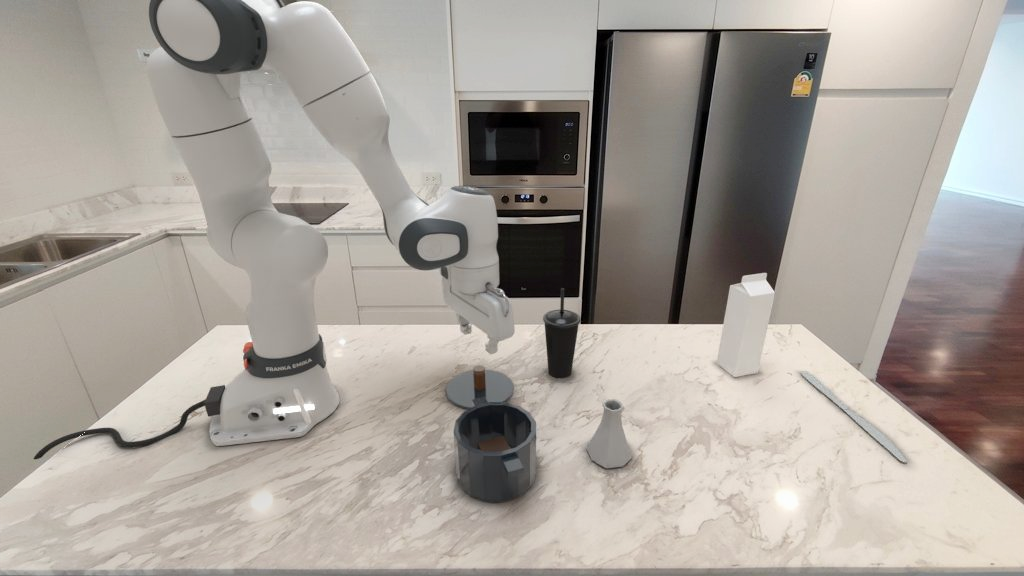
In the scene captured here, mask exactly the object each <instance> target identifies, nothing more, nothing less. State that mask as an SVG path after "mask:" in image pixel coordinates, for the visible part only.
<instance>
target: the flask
mask: <svg viewBox="0 0 1024 576" xmlns="http://www.w3.org/2000/svg"><path fill="white" fill-rule="evenodd" d="M601 406H602V407H603V414H602V417H601V421H600V423H599V425H598V426H597V428H596V431H595V432H594V434H593V435H592V437H591V438H590V440H589V442H588V444H587V446H586V451H587V453H588V455H589V457H590V460H591V461H593V462H595V463H596V464H598V465H599V466H601V467H603V468H604V469H613V468H622V467H624V466H625V465H626V464H627V463H628V462H629V461H631V460H632V458H633V454H632V451H631V449H630V445H629V443H628V441H627V440H628V439H627V437H626V434H625V431H624V427H623V422H622V411H623V410H624V408H625V406H624V404H623V403H622V401H620V400H618V399H615V398H610V399H609V398H607V399H605V400H604V401H603V402H602V403H601Z"/></svg>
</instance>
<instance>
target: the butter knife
mask: <svg viewBox="0 0 1024 576" xmlns="http://www.w3.org/2000/svg"><path fill="white" fill-rule="evenodd" d="M800 373H801V375H802V376H803V377H804V379H806V380H807V381H808V382H809V383H810V384H811V385H812V386H814V387H815V388H816V389H817V390H819V392H821V393H822V394H824V395H825V396H826V397H827V398H828V399H830V400H831V401H832V402H833V403H834V404H835V405H837V406H838V407H839V408H840V409H841V410H842V411H844V412H845V414H847V415H848V416H849V417H851V418H852V419H853V420H854V421H855V422H856V423H857V424H858V425H859V427H861V428H863V429H864V431H866V432H867V433H868V434H869V435H870V436H871V437H872V438H873V439H875V440H876V441H877V442H878V443H880V444H881V445H882V446H883V447H884V448H885V449H887V450H888V451H889V453H891V454H892V455H893V456H894V457H895V458H896V459H898V460H899V461H901V463H905V464H906V463H907V462H908V460H907V459H906V458H905V456H904V455H903V454H902V453H901V451H900V450H899V449H898V448H897V447H896V446H895V444H894V443H893V442H892V441H891V440H890V439H889V438H888V437H887V436H885V434H883V433H882V432H880V431H879V430H878V429H877V428H875V427H874V426H873V425H872V424H871V423H869V422H867V421H866V420H865V419H863V418H862V417H861V416H859V415H858V414H856V413H855V412H854V411H852V410H851V409H850V408H849V407H847V406H846V405H845V404H844V403H843V402H842V401H840V400H839V399H838V398H837V397H836V396H834V394H833V393H832V392H831V391H830V390H829V389H828V388H827V387H826V386H825V385H824V384H823V383H821V382H820V381H819V380H818V379H817V377H815V376H814V375H812V373H810V372H808V371H805V370H801V371H800Z"/></svg>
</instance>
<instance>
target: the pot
mask: <svg viewBox="0 0 1024 576" xmlns="http://www.w3.org/2000/svg"><path fill="white" fill-rule="evenodd" d="M472 405H473V407H472V408H470V409H468V410H467V409H465V410H464V411H463V412H462V413H461V414H460V415H459V416H458V417H457V419H456V420H455V423H454V427H453V431H452V432H453V443H454V444H453V446H454V458H455V472H456V473H455V474H456V477H457V482H458V484H459V486H460V488H461V489H462V491H464V493H465V494H466V495H468V496H470V497H471V498H473V499H475V500H477V501H480V502H485V503H488V504H489V503H492V504H498V503H499V504H500V503H507V502H511V501H514V500H516V499H518V498H519V497H522V496H523V495H524V494H526V493H527V492H528V490H530V488H531V487H532V485H533V484H534V482H535V479H536V475H537V422H536V420H535V418H534V417H533V416H532V414H531V412H530V411H528V410H526V409H525V408H523V407H522V406H520V405H518V404H515V403H510V402H508V401H507V402H488V401H487V399H486V398H485V397H481V398H477V399H473V400H472ZM502 436H504V438H505V440H506V442H507V444H508V446H509V448H510V449H509V450H505V451H501V452H485V451H482V450H479V449H478V442H482V441H486V440H490V439H494V438H498V437H502Z"/></svg>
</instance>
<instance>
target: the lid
mask: <svg viewBox="0 0 1024 576" xmlns="http://www.w3.org/2000/svg"><path fill="white" fill-rule="evenodd" d="M513 383H514V382H513V381H512V380H511V378H510V377H508V376H507V375H506V374H504V373H502V372H500V371H497V370H493V369H492V370H491V369H486V367H485V366H484V365H481V364H478V365H475V366H473V368H472V369H471V370H467V371H464V372H462V373H459V374H457V375H455V376H454V377H453V378H452V379H450V380H449V382H448V383H447V385H446V389H445V393H446V397H447V399H448V401H449V402H450V403H451V404H452V405H454V406H455V407H457V408H461V409H463V410H468V409H470V408H472V407H473V405H472V400H473V399H477V398H481V397H485V398H486V399H487V401H488V402H507V403H508V401H509V400H510V399H511V398H512V397H513V394H514V384H513Z"/></svg>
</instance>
